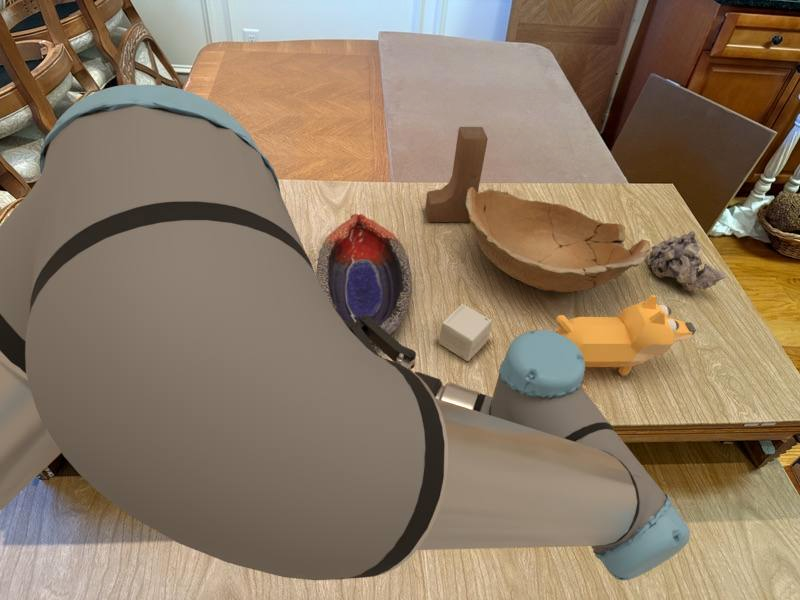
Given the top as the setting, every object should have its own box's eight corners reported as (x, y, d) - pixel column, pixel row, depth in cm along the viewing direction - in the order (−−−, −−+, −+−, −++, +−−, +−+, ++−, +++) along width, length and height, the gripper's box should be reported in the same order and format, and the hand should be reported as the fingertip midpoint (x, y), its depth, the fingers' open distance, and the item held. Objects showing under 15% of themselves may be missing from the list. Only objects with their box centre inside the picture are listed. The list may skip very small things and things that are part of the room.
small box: (458, 323, 86) (462, 302, 83) (488, 342, 84) (493, 320, 80) (437, 343, 83) (440, 322, 79) (467, 363, 80) (472, 341, 77)
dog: (680, 385, 80) (721, 325, 71) (548, 385, 78) (573, 324, 69) (659, 344, 85) (695, 284, 76) (536, 344, 84) (558, 283, 75)
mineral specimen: (729, 290, 90) (720, 233, 87) (671, 304, 91) (662, 248, 89) (696, 273, 101) (688, 222, 99) (646, 286, 103) (636, 236, 100)
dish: (311, 358, 79) (309, 335, 76) (322, 231, 101) (321, 209, 98) (416, 357, 81) (418, 335, 77) (404, 232, 102) (406, 210, 99)
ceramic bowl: (606, 215, 107) (634, 155, 95) (635, 331, 91) (674, 276, 79) (455, 209, 107) (464, 148, 95) (458, 323, 92) (469, 268, 79)
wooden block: (427, 223, 105) (437, 138, 93) (424, 209, 108) (433, 125, 96) (473, 222, 106) (488, 138, 94) (468, 209, 109) (483, 125, 97)
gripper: (394, 520, 58) (226, 451, 63) (460, 356, 75) (324, 312, 80) (398, 487, 53) (214, 415, 58) (468, 319, 70) (321, 274, 75)
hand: (277, 355), depth 69 cm, fingers open, 13 cm apart
